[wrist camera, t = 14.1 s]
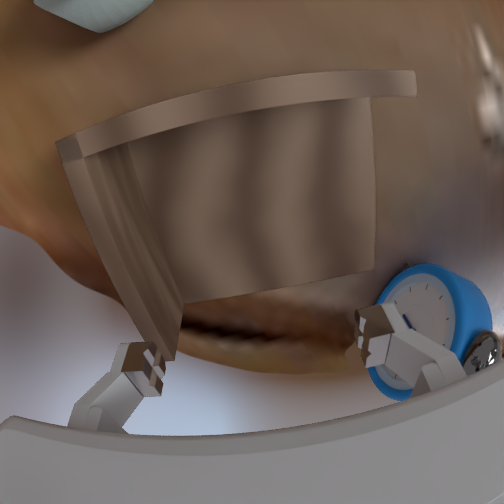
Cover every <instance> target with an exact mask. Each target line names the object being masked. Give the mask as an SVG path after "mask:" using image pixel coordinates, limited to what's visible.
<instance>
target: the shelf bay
mask: <svg viewBox="0 0 504 504" xmlns="http://www.w3.org/2000/svg"><path fill="white" fill-rule="evenodd" d="M392 96H417V87H416V77H415V71H410V70H345V71H328V72H315V73H305V74H295V75H287V76H279V77H272V78H265V79H259V80H253V81H247V82H242V83H236V84H231V85H226V86H221V87H217V88H212V89H208V90H204V91H199V92H195V93H191V94H187V95H184V96H180V97H176V98H173V99H169V100H166V101H162V102H159V103H155V104H152V105H149V106H146V107H143V108H140V109H137V110H134V111H131V112H128V113H125V114H122V115H119V116H117V117H114V118H111V119H108V120H106V121H103V122H101V123H98V124H96V125H93V126H91V127H88V128H86V129H83V130H81V131H79V132H76V133H74V134H72V135H69V136H67V137H65V138H63V139H61V140H59V141H56V142H55V143H56V146H57V149H58V152H59V155H60V158H61V161H62V164H63V167H64V170H65V173H66V176H67V179H68V182H69V184H70V187H71V190H72V192H73V195H74V198H75V200H76V203H77V205H78V208H79V210H80V213H81V215H82V218H83V220H84V222H85V225H86V227H87V230H88V232H89V234H90V236H91V239H92V241H93V243H94V245H95V248H96V250H97V252H98V254H99V256H100V258H101V260H102V263H103V265H104V267H105V269H106V271H107V273H108V275H109V277H110V279H111V281H112V283H113V285H114V287H115V289H116V291H117V293H118V294H119V296H120V298H121V300H122V302H123V304H124V306H125V308H126V309H127V311H128V313H129V315H130V317H131V318H132V320H133V322H134V324H135V325H136V327H137V329H138V330H139V332H140V334H141V336H142V337H143V339H144V341H145V342H154V343H155V344H156V346H157V350H156V351H157V352H159V353H161V354H162V356H163V358H164V361H174V360H175V355H176V349H177V343H178V337H179V331H180V325H181V320H182V314H183V309H184V304H188V303H195V302H201V301H208V300H214V299H220V298H226V297H232V296H238V295H244V294H250V293H255V292H261V291H267V290H272V289H278V288H283V287H289V286H294V285H299V284H305V283H310V282H315V281H320V280H325V279H330V278H335V277H340V276H345V275H350V274H355V273H359V272H364V271H369V270H373V269H374V259H375V228H376V190H375V160H374V143H373V129H372V117H371V107H370V98H369V97H392Z"/></svg>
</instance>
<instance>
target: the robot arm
mask: <svg viewBox="0 0 504 504" xmlns="http://www.w3.org/2000/svg"><path fill="white" fill-rule="evenodd" d="M355 319H356V321H357V322H356V323H355V324H354V335H355V340H356V343H357V346H358V347H359V348H360V349H361V357H362V360H363V363H364V365H365V368H368V367H372V366H377V365H381V364H385V365H386V366H388V367H389V368H390V369H391V370H393V371H394V372H395V373H396V374H398V375H399V376H400V377H401V378H402V379H404V380H405V381H406V382H407V383H409V384H410V385H411V386H412V387H414V388H413V391H412V393H411V395H410V397H409V399H407V400H404V401H401V402H398V403H394V404H391V405H388V406H384V407H381V408H377V409H374V410H371V411H366V412H363V413H359V414H355V415H351V416H346V417H342V418H337V419H333V420H328V421H323V422H318V423H313V424H307V425H301V426H295V427H290V428H282V429H276V430H267V431H258V432H249V433H238V434H224V435H202V436H155V435H154V436H153V435H152V436H151V435H134V434H128V433H127V432H126V431H125V430H124V429H123V428H122V426H123V425H124V423H125V422H126V421H127V419H128V418H129V417H130V415H131V414H132V413H133V411H134V410H135V409H136V407H137V406H138V405H139V403H140V402H141V401H142V399H143V397H150V396H151V397H152V396H161V393H162V387H163V382H162V381H161V378H162V377H163V376H164V375H165V370H166V367H165V361H164V358H163V356H162V354H161V353H159V352H157V351H156V350H157V346H156V344H155V343H154V342H132V343H121V344H120V345H119V347H118V350H117V353H116V356H115V359H114V362H113V365H112V368H111V371H110V372H109V373H106V374H105V375H104V376H103V377H102V378H101V379H100V380H99V381H98V382H97V383H96V384H95V385H94V386H93V387H92V388H91V389H90V390H89V391H88V392H87V393H86V394H85V395H84V396H83V397H81V398H80V400H78V401H77V402H76V403H75V404H74V407H73V410H72V413H71V416H70V420H69V423H68V426H67V427H66V426H60V425H55V424H49V423H45V422H39V421H35V420H31V419H27V418H23V417H19V416H10V417H9V418H7V419H6V420H5V421H3V422H2V423H1V424H0V504H504V359H503V360H501V361H499V362H497V363H495V364H493V365H491V366H489V367H487V368H485V369H482V370H480V371H478V372H476V373H474V374H472V375H469V376H467V375H466V373H465V371H464V369H463V367H462V365H461V363H460V362H459V360H458V358H457V356H456V354H455V353H453V352H452V351H450V350H448V349H446V348H444V347H443V346H441V345H439V344H437V343H436V342H434V341H432V340H430V339H429V338H427V337H425V336H423V335H422V334H420V333H418V332H416V331H414V330H413V329H407V327H406V325H405V323H404V322H403V320H402V318H401V316H400V314H399V313H398V311H397V309H396V307H395V305H394V304H393V302H391V301H390V302H386V303H382V304H378V305H374V306H370V307H365V308H361V309H357V310H356V311H355Z"/></svg>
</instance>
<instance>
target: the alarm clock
mask: <svg viewBox="0 0 504 504" xmlns="http://www.w3.org/2000/svg"><path fill="white" fill-rule="evenodd" d="M390 301H391V302H393V304H394V305H395V307H396V309H397V311H398V313H399V314H400V316H401V318H402V320H403V322H404V323H405V325H406V327H407V329H413V330H414V331H416V332H418V333H420V334H422V335H423V336H425V337H427V338H429V339H430V340H432V341H434V342H436V343H437V344H439V345H441V346H443V347H444V348H446V349H448V350H450V351H452V352H453V353H455V354H456V356H457V358H458V360H459V362H460V363H461V365H462V367H463V369H464V371H465V373H466V375H467V376H469V375H472V374H474V373H476V372H478V371H480V370H482V369H485V368H487V367H489V366H491V365H493V364H495V363H497V362H499V361H501V357H502V344H501V341H500V338H499V337H498V335H497V334H496V333H495V332H493V331H492V317H491V312H490V308H489V305H488V303H487V300H486V298H485V296H484V295H483V293H482V292H481V291H480V289H479V288H478V287H477V286H476V285H475V284H473V283H472V282H470V281H469V280H467V279H465V278H463V277H461V276H459V275H457V274H455V273H453V272H451V271H449V270H447V269H445V268H443V267H441V266H438V265H435V264H428V263H423V264H417V265H414V266H411V267H409V266H408V264H407V263H406V264H405V270H404V271H402V272H401V273H399V274H398V275H397V276H396V277H395V278H394V279H393V280H391V282H390V283H389V284H388V285H387V286H386V288H385V289H384V290H383V292H382V293H381V295H380V297H379V299H378V300H377V302H376V304H375V305H378V304H382V303H386V302H390ZM368 370H369V374H370V376H371V378H372V380H373V382H374V384H375V385H376V387H377V388H378V389H379V390H380V391H381V392H382V393H383V394H385V395H386V396H387V397H389V398H391V399H394V400H397V401H404V400H407V399H409V397H410V395H411V393H412V391H413V388H414V387H412V386H411V385H410V384H409V383H407V382H406V381H405V380H404V379H402V378H401V377H400V376H399V375H398V374H396V373H395V372H394V371H393V370H391V369H390V368H389V367H388V366H386V365H385V364H381V365H377V366H372V367H368Z"/></svg>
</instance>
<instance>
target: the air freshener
mask: <svg viewBox="0 0 504 504" xmlns="http://www.w3.org/2000/svg"><path fill="white" fill-rule="evenodd" d="M153 1H154V0H34V4H35V5H37V6H39V7H41V8H43V9H44V10H47V11H49V12H51V13H53V14H55V15H57V16H59V17H62V18H64V19H66V20H68V21H70V22H73V23H75V24H77V25H79V26H82V27H84V28H86V29H89V30H91V31H94V32H97V33H103V32H106V31H109V30H112V29H114V28H116V27H118V26H121V25H123V24H124V23H126V22H128V21H129V20H131V19H133V18H134V17H136V16H137V15H138V14H140V13H141V12H142V11H144V10H145V9H146V8H147V7H148V6H149V5H150V4H151V3H153Z"/></svg>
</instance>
